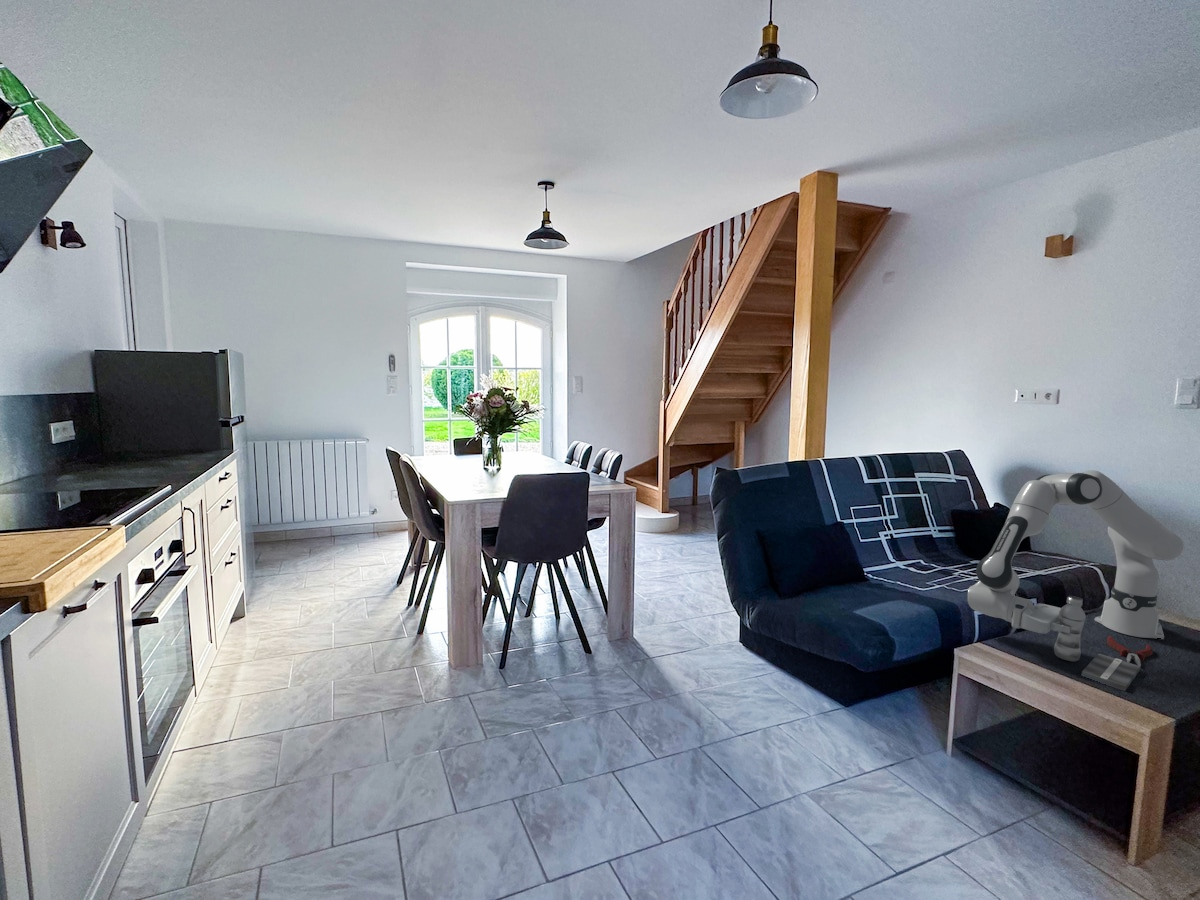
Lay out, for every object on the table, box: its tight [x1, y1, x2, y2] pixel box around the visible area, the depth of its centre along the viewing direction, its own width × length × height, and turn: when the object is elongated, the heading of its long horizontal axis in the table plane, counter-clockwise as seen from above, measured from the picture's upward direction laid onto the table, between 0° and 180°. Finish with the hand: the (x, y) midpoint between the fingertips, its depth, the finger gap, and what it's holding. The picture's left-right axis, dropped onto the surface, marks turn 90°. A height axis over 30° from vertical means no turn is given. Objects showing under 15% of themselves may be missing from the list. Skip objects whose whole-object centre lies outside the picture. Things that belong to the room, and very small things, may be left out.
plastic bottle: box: [1053, 595, 1087, 662], centre depth 187 cm, size 6×7×20 cm
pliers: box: [1106, 635, 1154, 668], centre depth 193 cm, size 12×20×3 cm, turn 143°
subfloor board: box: [1080, 653, 1141, 692], centre depth 180 cm, size 20×10×2 cm, turn 129°
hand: (1074, 626), depth 186 cm, fingers open, 7 cm apart
